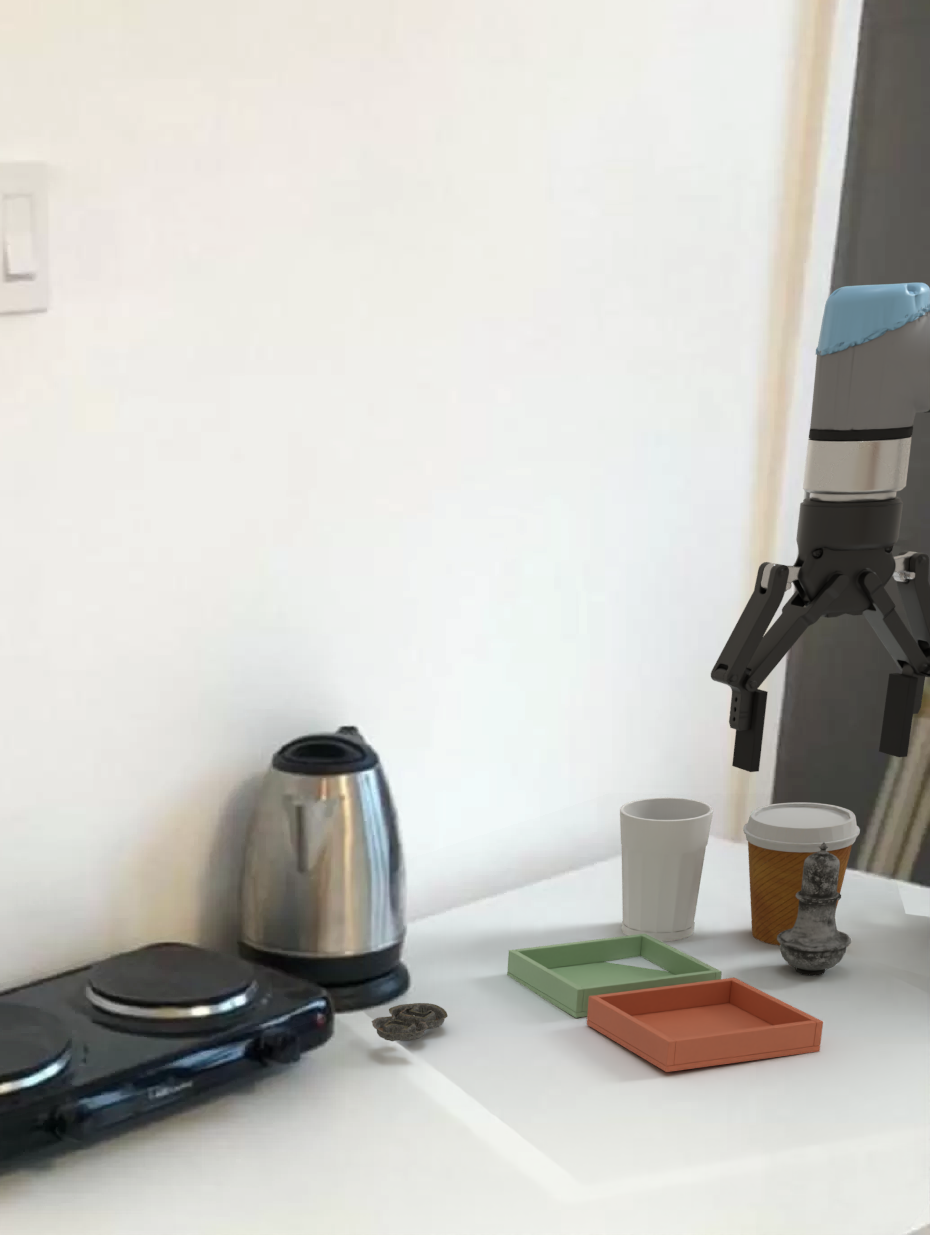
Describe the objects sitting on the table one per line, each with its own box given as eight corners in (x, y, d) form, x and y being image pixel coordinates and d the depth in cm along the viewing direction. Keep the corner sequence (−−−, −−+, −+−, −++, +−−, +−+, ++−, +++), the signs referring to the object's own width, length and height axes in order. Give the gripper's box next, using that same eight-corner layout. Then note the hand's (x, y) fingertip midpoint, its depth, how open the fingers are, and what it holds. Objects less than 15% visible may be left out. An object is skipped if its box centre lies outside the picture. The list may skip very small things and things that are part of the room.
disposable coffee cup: (850, 963, 179) (865, 830, 174) (734, 960, 182) (745, 829, 177) (843, 929, 187) (857, 801, 182) (732, 926, 190) (743, 800, 185)
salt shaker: (760, 981, 176) (773, 846, 171) (791, 962, 179) (804, 829, 174) (828, 994, 172) (844, 856, 167) (858, 974, 175) (874, 838, 170)
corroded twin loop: (358, 1039, 168) (358, 1027, 168) (404, 1009, 174) (404, 997, 173) (414, 1049, 165) (414, 1037, 165) (458, 1018, 171) (459, 1006, 170)
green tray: (642, 960, 183) (644, 933, 182) (719, 999, 172) (721, 971, 171) (506, 977, 181) (508, 950, 180) (575, 1018, 170) (577, 989, 169)
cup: (615, 949, 187) (623, 821, 182) (609, 922, 194) (617, 798, 189) (707, 949, 185) (718, 820, 180) (698, 921, 192) (708, 796, 187)
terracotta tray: (731, 1005, 170) (734, 977, 170) (819, 1051, 159) (823, 1021, 158) (586, 1024, 168) (588, 995, 167) (666, 1072, 157) (668, 1041, 156)
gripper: (961, 481, 167) (924, 740, 176) (683, 502, 163) (658, 766, 172) (1024, 487, 161) (983, 756, 169) (735, 509, 156) (707, 783, 165)
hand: (819, 761), depth 170 cm, fingers open, 13 cm apart
